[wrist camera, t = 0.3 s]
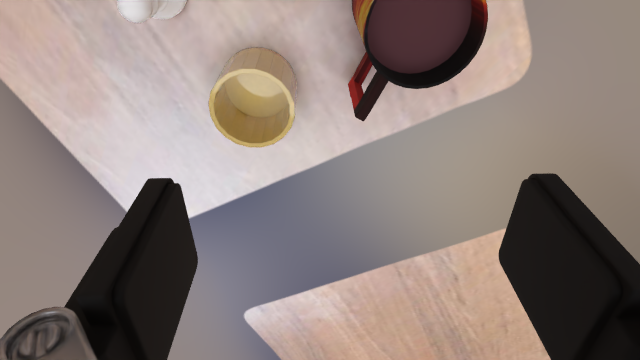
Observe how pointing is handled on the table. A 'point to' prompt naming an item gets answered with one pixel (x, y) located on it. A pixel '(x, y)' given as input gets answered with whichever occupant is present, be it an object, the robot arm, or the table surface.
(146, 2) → the chess pawn
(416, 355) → the table surface
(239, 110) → the yellow cup
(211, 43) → the table surface
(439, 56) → the mug
